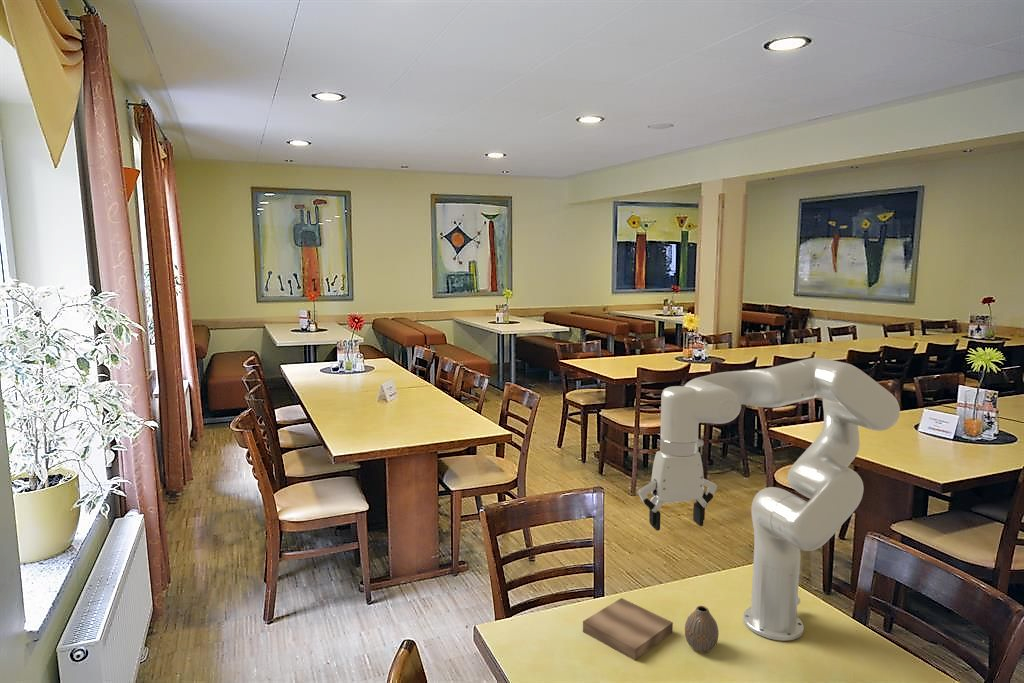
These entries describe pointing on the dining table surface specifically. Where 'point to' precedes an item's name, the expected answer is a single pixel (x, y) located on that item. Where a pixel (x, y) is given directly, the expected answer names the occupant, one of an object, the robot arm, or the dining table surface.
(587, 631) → the plinth
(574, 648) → the dining table surface
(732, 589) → the dining table surface
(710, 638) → the vase
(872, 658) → the dining table surface
